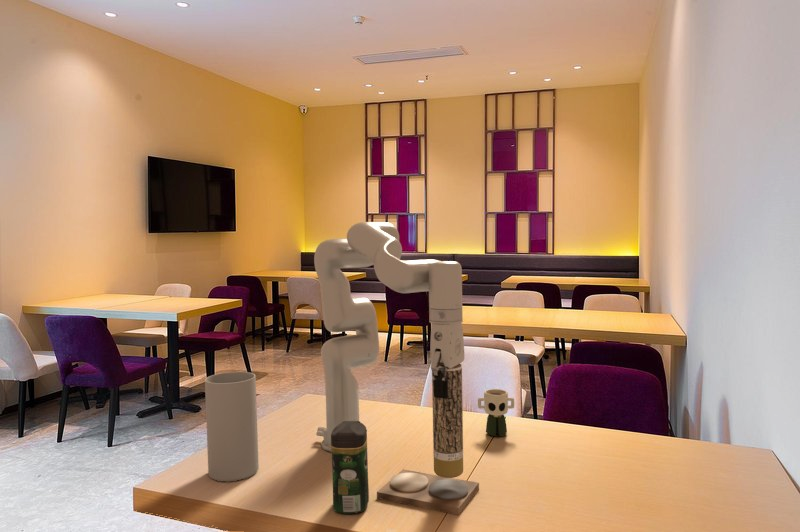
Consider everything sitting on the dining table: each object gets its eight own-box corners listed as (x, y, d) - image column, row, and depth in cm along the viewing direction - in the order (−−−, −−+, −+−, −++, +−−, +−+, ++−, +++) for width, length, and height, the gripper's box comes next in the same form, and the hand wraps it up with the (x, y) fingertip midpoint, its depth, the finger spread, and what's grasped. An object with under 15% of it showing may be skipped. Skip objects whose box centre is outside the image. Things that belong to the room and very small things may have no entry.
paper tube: (464, 468, 135) (463, 362, 134) (462, 480, 129) (460, 369, 127) (436, 466, 137) (434, 361, 135) (431, 478, 130) (429, 368, 129)
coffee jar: (337, 495, 135) (335, 417, 134) (370, 496, 135) (369, 417, 134) (329, 515, 125) (327, 431, 124) (365, 516, 125) (363, 431, 124)
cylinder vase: (268, 468, 152) (265, 374, 151) (234, 486, 141) (230, 385, 140) (233, 460, 158) (230, 370, 157) (197, 477, 147) (194, 380, 146)
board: (376, 498, 133) (376, 488, 133) (403, 475, 146) (403, 466, 146) (458, 515, 125) (458, 504, 124) (479, 488, 137) (478, 479, 137)
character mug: (479, 438, 171) (478, 395, 170) (477, 430, 178) (476, 388, 178) (516, 438, 170) (515, 395, 170) (513, 430, 178) (512, 388, 177)
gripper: (447, 321, 121) (448, 405, 122) (474, 311, 137) (475, 385, 138) (414, 320, 125) (416, 401, 126) (444, 310, 140) (445, 382, 141)
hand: (447, 392), depth 132 cm, fingers closed on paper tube, 6 cm apart
